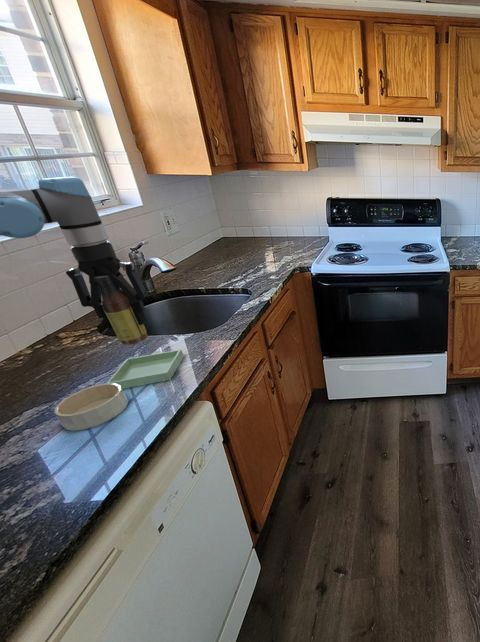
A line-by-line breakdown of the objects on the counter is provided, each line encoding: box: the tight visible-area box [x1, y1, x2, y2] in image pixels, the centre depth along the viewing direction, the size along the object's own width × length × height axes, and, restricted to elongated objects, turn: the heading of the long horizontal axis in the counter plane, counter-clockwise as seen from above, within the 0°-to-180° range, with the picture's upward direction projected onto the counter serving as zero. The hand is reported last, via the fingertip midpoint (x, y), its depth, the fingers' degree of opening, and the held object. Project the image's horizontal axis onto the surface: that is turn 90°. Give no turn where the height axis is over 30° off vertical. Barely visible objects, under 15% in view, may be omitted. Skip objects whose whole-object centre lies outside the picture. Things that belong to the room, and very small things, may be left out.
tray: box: [106, 348, 185, 390], centre depth 106 cm, size 14×13×2 cm
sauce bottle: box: [94, 275, 149, 346], centre depth 98 cm, size 6×6×20 cm
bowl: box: [54, 382, 129, 432], centre depth 90 cm, size 12×12×4 cm
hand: (127, 324), depth 100 cm, fingers closed on sauce bottle, 6 cm apart
